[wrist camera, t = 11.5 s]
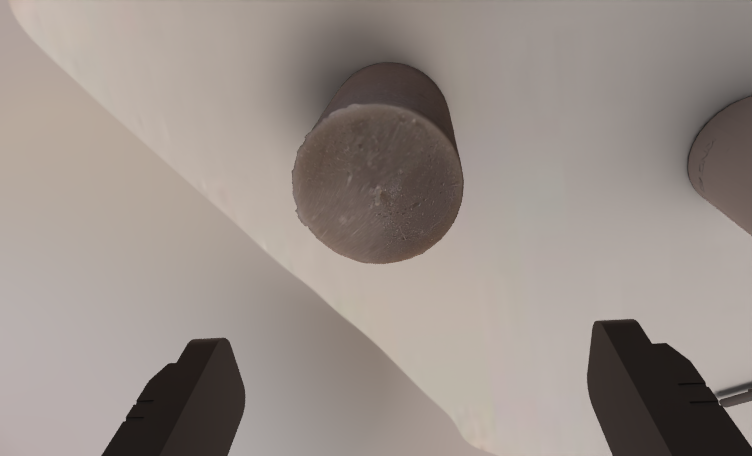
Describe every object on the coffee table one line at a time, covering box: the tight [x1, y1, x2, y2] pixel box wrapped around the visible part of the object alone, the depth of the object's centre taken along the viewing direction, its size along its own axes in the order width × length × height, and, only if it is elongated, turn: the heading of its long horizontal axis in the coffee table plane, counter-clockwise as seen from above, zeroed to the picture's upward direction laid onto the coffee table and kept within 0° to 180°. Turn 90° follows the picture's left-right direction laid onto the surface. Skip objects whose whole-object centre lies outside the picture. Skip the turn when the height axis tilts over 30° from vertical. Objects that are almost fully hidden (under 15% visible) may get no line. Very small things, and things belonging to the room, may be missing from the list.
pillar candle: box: [292, 63, 464, 264], centre depth 32 cm, size 10×10×15 cm
